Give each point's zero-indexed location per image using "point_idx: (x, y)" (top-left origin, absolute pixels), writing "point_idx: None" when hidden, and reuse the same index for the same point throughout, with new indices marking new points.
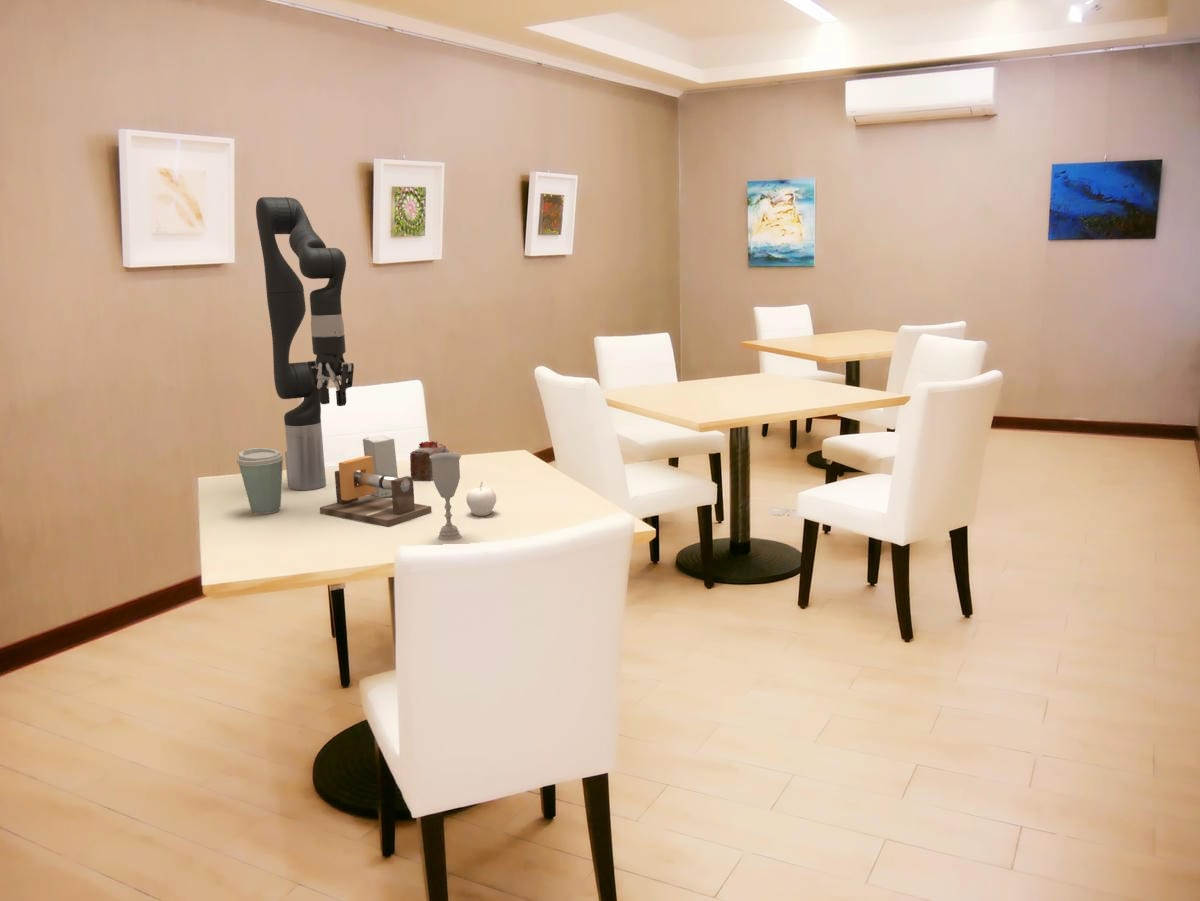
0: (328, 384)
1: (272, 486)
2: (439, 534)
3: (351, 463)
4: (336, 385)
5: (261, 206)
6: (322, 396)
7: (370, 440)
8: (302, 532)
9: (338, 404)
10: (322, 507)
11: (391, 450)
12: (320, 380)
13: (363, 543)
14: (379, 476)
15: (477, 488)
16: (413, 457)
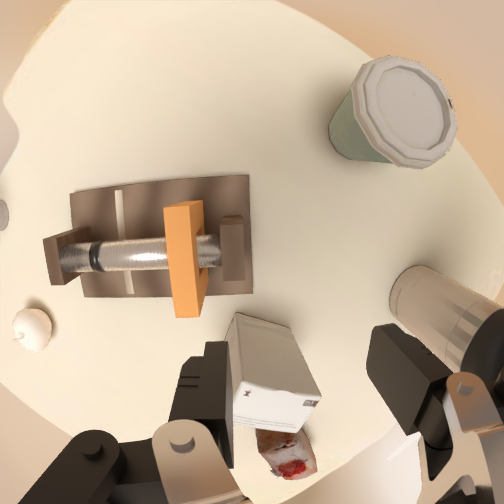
0: (419, 457)
1: (339, 114)
2: (2, 205)
3: (166, 234)
4: (196, 464)
5: None
6: (399, 353)
7: (270, 390)
8: (170, 81)
9: (209, 343)
10: (242, 177)
11: None
12: (473, 431)
13: (51, 117)
14: (104, 253)
15: (30, 340)
16: (287, 438)
